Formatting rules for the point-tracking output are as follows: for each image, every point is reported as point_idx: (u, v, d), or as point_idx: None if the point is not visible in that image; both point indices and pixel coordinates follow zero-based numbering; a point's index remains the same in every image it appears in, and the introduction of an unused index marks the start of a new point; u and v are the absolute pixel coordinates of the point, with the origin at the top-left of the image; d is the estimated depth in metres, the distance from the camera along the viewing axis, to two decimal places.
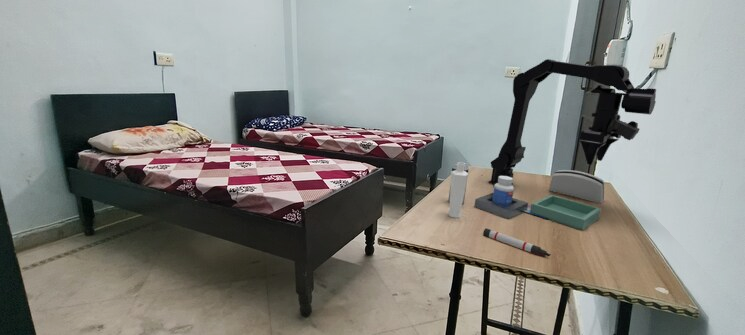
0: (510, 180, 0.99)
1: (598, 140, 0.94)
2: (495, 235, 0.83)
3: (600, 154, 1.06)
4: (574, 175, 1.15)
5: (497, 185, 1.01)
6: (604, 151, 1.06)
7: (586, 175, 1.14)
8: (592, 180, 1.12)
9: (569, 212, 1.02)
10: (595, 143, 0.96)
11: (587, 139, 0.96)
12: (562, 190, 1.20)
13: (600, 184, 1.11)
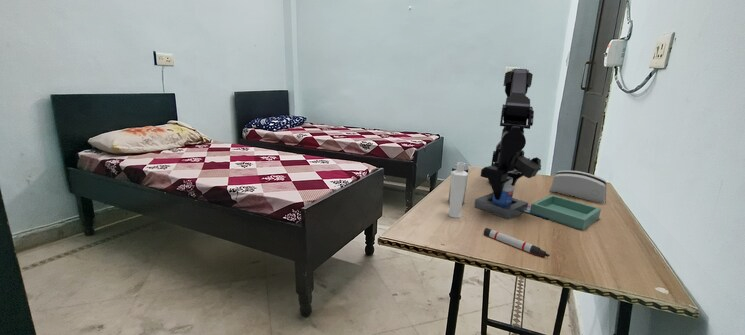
0: (510, 180, 0.99)
1: (496, 178, 0.93)
2: (495, 235, 0.83)
3: None
4: (577, 176, 1.14)
5: None
6: None
7: (588, 175, 1.14)
8: (595, 180, 1.12)
9: (569, 212, 1.02)
10: None
11: (487, 177, 0.95)
12: (564, 190, 1.19)
13: (603, 184, 1.11)
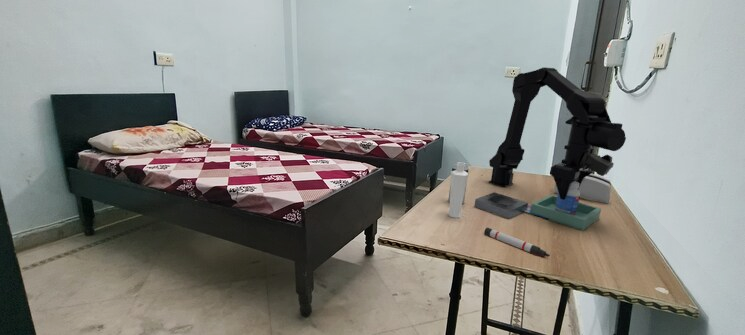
0: (577, 185, 0.96)
1: (569, 176, 0.89)
2: (496, 234, 0.83)
3: None
4: None
5: None
6: None
7: (593, 176, 1.13)
8: (600, 181, 1.11)
9: None
10: (567, 179, 0.91)
11: (558, 175, 0.91)
12: None
13: (608, 185, 1.11)
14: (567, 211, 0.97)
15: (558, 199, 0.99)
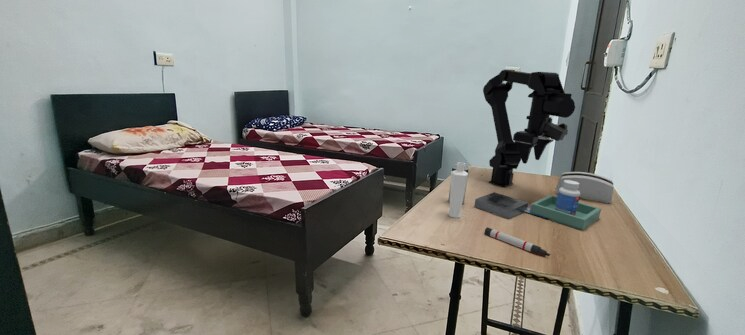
0: (577, 185, 0.96)
1: (528, 141, 1.03)
2: (496, 234, 0.83)
3: (537, 154, 1.15)
4: (585, 177, 1.13)
5: (563, 190, 0.98)
6: (541, 151, 1.14)
7: (596, 176, 1.13)
8: (603, 181, 1.11)
9: None
10: (527, 144, 1.05)
11: (519, 140, 1.05)
12: None
13: (611, 185, 1.11)
14: (567, 211, 0.97)
15: (558, 199, 0.99)
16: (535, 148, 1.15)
